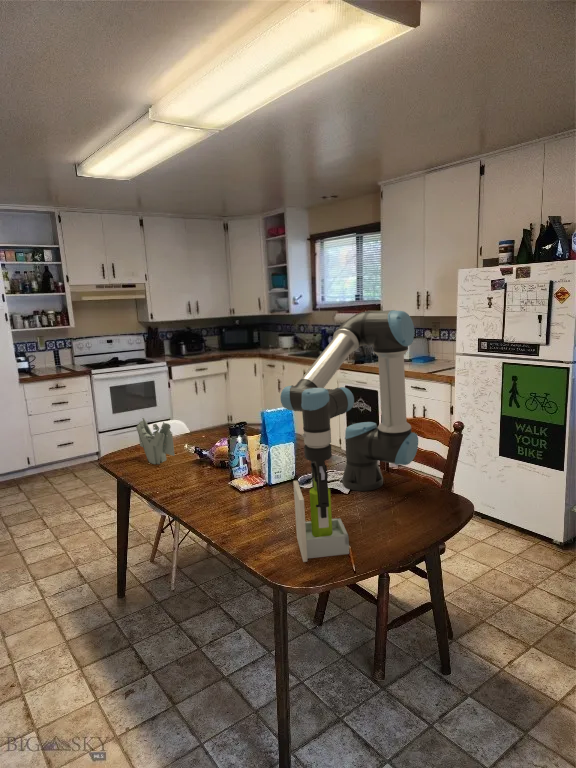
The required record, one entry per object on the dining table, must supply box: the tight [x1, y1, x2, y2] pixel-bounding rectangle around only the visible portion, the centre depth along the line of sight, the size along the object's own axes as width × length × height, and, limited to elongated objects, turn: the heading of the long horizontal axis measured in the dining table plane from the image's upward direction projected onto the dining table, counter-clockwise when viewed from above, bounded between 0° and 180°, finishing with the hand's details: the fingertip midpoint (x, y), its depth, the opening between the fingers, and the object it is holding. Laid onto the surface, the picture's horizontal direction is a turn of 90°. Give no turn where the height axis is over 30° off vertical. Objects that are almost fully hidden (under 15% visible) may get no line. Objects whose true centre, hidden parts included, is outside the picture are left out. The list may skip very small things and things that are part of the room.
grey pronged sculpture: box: [135, 417, 175, 465], centre depth 224 cm, size 28×7×20 cm, turn 49°
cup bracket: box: [292, 480, 350, 563], centre depth 139 cm, size 13×14×18 cm
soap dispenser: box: [309, 478, 333, 537], centre depth 139 cm, size 6×7×20 cm
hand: (321, 521), depth 140 cm, fingers closed on soap dispenser, 6 cm apart
